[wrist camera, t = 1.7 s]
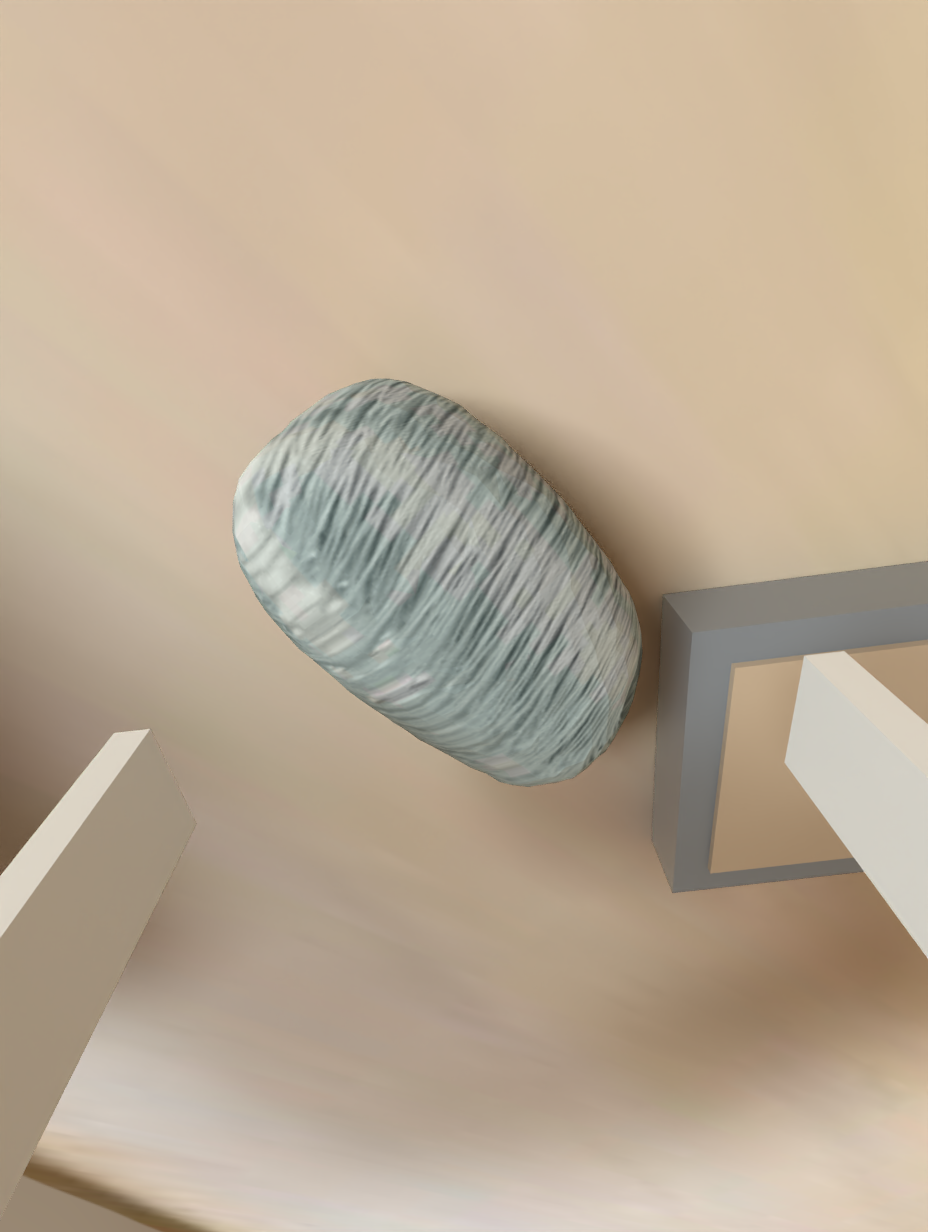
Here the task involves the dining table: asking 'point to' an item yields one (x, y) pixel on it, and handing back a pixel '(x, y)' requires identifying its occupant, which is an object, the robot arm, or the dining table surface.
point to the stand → (766, 716)
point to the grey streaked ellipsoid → (440, 581)
